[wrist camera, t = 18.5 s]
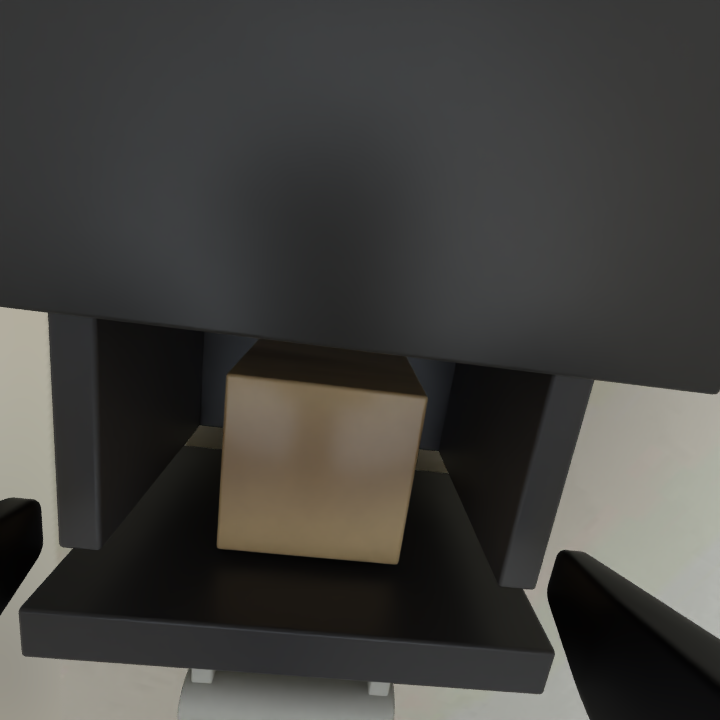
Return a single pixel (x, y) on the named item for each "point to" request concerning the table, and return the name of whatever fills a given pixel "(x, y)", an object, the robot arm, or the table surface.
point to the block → (319, 452)
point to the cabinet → (375, 176)
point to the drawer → (287, 572)
